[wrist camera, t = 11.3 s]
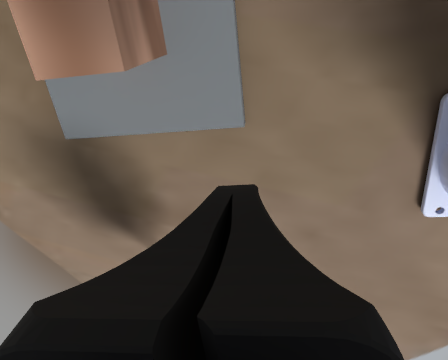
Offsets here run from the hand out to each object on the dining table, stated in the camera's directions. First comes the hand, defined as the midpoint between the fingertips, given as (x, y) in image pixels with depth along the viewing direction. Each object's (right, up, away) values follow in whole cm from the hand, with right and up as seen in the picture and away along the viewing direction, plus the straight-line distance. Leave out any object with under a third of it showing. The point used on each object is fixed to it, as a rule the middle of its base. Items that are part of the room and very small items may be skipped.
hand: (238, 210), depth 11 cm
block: (-6, +10, +6) cm, 14 cm away
